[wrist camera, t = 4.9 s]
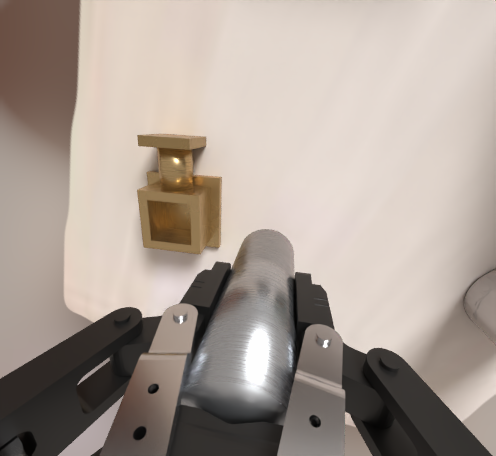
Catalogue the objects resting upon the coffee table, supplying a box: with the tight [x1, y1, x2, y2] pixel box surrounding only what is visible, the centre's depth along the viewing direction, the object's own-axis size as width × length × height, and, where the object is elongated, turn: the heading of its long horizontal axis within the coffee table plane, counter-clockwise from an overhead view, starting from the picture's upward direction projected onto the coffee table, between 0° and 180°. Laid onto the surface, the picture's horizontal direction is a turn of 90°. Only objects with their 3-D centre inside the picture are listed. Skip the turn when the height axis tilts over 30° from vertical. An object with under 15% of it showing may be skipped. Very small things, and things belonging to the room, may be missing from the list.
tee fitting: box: [137, 134, 222, 254], centre depth 29 cm, size 9×13×5 cm
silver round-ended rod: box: [181, 229, 297, 426], centre depth 11 cm, size 3×3×10 cm
